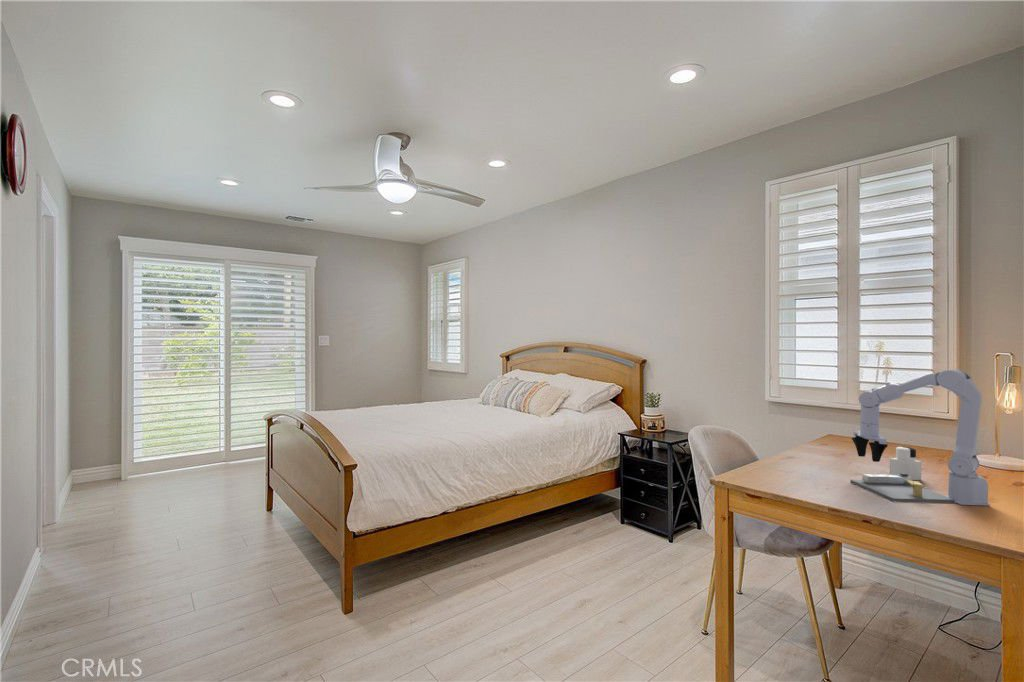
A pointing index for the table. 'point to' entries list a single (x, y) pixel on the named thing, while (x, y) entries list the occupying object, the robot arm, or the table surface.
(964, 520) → the table surface
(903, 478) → the link
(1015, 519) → the table surface
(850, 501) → the table surface
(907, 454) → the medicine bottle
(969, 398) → the robot arm
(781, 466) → the table surface
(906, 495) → the board
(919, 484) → the keeper
